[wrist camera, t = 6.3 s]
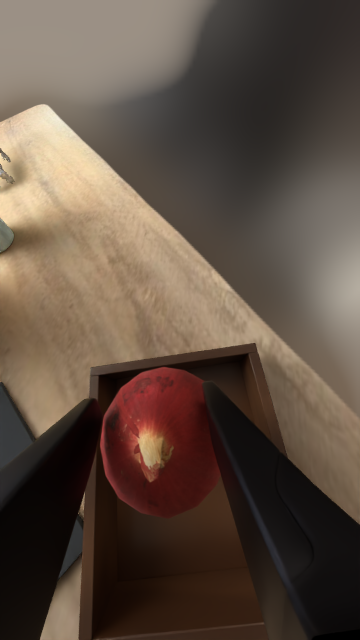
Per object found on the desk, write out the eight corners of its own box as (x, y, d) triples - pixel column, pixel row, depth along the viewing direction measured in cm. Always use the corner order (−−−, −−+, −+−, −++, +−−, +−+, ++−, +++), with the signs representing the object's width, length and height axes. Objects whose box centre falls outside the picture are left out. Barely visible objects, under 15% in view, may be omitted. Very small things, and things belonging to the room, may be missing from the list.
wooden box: (300, 571, 15) (339, 637, 11) (109, 592, 15) (77, 663, 11) (244, 353, 21) (255, 342, 17) (110, 373, 21) (90, 367, 17)
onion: (113, 442, 13) (-3, 499, 5) (158, 362, 14) (117, 320, 7) (194, 499, 11) (191, 685, 4) (233, 402, 13) (282, 403, 6)
